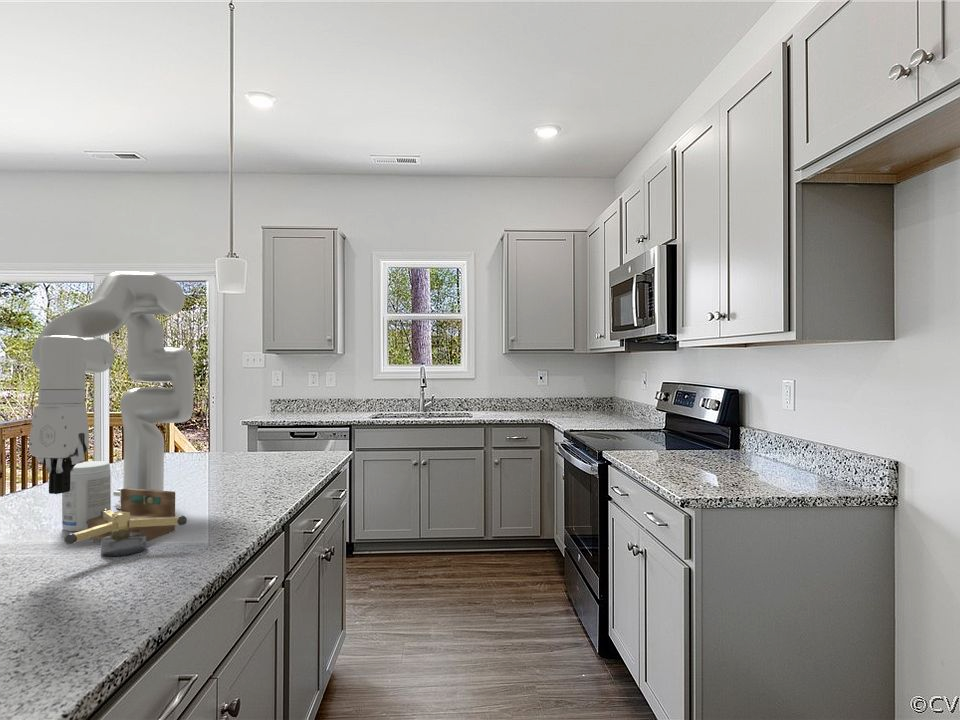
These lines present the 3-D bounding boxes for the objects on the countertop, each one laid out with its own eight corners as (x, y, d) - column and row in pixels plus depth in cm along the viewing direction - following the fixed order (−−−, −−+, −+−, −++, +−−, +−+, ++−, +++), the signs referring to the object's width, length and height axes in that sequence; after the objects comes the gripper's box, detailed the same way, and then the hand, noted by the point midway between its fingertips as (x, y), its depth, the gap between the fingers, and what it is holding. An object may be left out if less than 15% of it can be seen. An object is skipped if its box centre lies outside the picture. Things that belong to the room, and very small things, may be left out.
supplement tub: (112, 519, 148) (113, 459, 148) (108, 529, 139) (109, 465, 139) (65, 524, 144) (66, 462, 144) (57, 534, 135) (58, 468, 135)
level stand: (87, 537, 133) (88, 496, 133) (124, 526, 142) (125, 487, 142) (139, 543, 129) (140, 501, 129) (174, 531, 139) (175, 491, 139)
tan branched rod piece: (19, 563, 115) (20, 525, 115) (105, 536, 134) (106, 502, 134) (112, 575, 110) (113, 534, 110) (188, 544, 128) (189, 510, 128)
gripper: (13, 398, 117) (10, 494, 117) (75, 400, 113) (72, 498, 113) (50, 397, 124) (47, 487, 124) (109, 398, 121) (106, 491, 120)
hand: (59, 492), depth 118 cm, fingers closed
